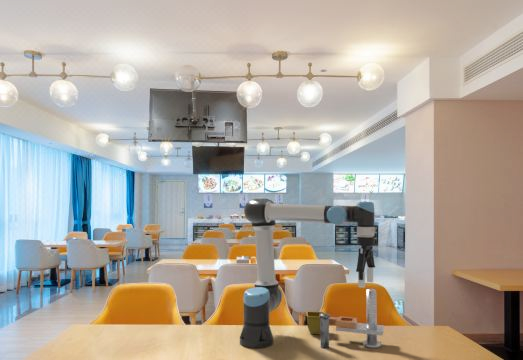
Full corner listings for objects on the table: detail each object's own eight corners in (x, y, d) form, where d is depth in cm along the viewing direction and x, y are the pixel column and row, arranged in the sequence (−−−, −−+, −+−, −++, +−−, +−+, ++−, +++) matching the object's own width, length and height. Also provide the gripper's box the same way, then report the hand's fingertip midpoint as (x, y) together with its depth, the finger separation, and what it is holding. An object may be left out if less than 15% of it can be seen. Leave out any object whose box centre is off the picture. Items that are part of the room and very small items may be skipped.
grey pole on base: (384, 342, 187) (383, 288, 188) (382, 349, 178) (382, 293, 179) (327, 336, 196) (326, 284, 197) (322, 342, 187) (322, 288, 188)
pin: (318, 348, 180) (318, 315, 181) (320, 344, 184) (320, 312, 185) (329, 349, 178) (328, 316, 179) (331, 345, 183) (330, 313, 184)
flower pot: (324, 330, 205) (324, 311, 205) (325, 336, 196) (325, 316, 197) (306, 329, 206) (306, 311, 206) (306, 335, 197) (306, 316, 198)
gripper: (366, 238, 172) (366, 290, 171) (381, 234, 194) (381, 280, 193) (348, 238, 176) (349, 288, 175) (365, 234, 198) (365, 279, 197)
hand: (365, 284), depth 184 cm, fingers open, 13 cm apart
